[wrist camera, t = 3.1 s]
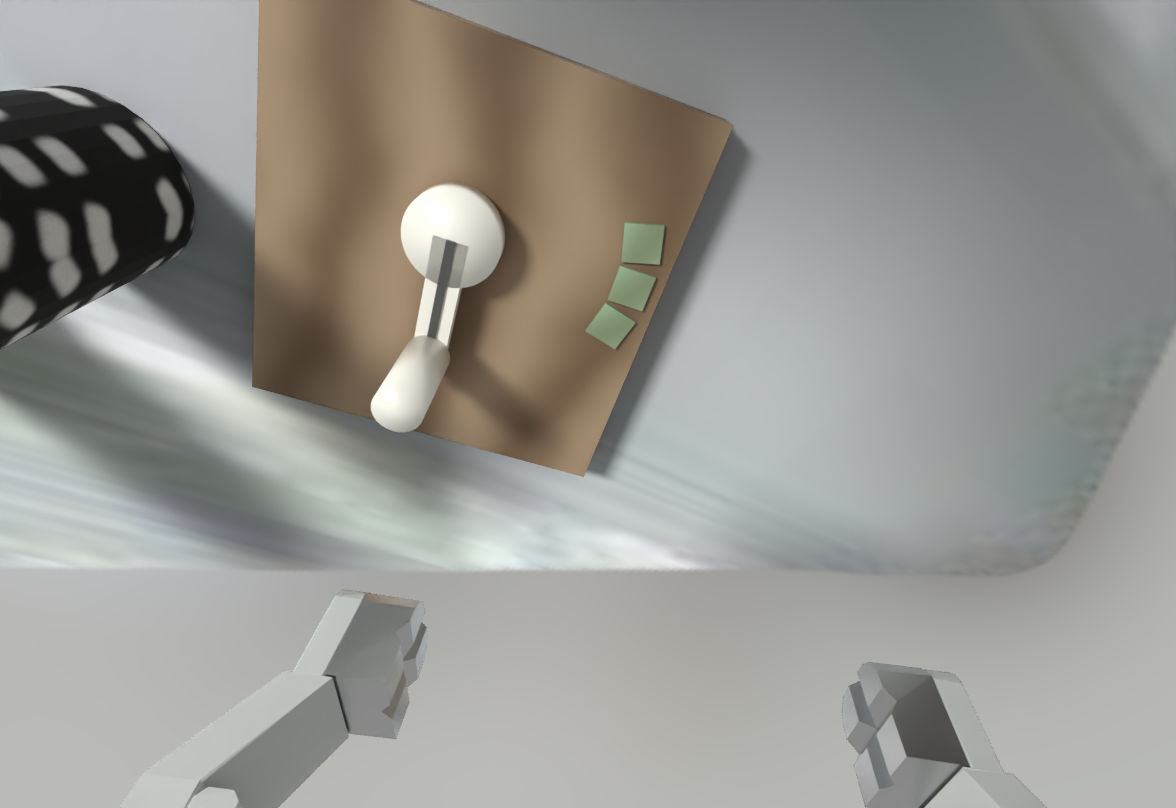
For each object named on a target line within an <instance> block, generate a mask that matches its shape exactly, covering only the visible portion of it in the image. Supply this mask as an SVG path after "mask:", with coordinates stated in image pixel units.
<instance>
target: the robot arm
mask: <svg viewBox="0 0 1176 808" xmlns="http://www.w3.org/2000/svg"><path fill="white" fill-rule="evenodd" d="M424 614H425V608H424V602H423V601H418V600H412V599H404V598H398V597H391V596H385V595H377V594H371V593H367V592H360V591H352V590H344V589H342V590H341V591H340V592H339V593H338V594H337V595H336V596H335V597H334V598H333V600H332V602H331V604H330V606H329V607H328V609H327V611H326V613H325V615H324V616H323V618H322V620H321V622H320V624H319V625H318V627H317V629H316V631H315V633H314V634H313V636H312V638H311V640H310V642H309V643H308V645H307V647H306V649H305V651H304V653H303V654H302V656H301V658H300V660H299V661H298V663H297V665H296V667H295V669H294V670H293V671H288V670H285V671H283V672H282V673H280V674H279V675H278V676H276V677H275V678H273V679H272V680H271V681H269V682H268V683H267V684H265V685H264V686H263V687H261V688H260V689H259V690H257V691H256V692H254V693H253V694H251V695H250V696H249V697H247V698H246V699H244V700H243V701H242V702H240V703H239V704H238V705H236V706H235V707H233V708H232V709H231V710H229V711H228V712H227V713H225V714H224V715H222V716H221V717H220V718H218V719H217V720H215V721H214V722H213V723H211V724H210V725H209V726H207V727H206V728H204V729H203V730H202V731H200V732H199V733H197V734H196V735H195V736H193V737H192V738H191V739H189V740H188V741H186V742H185V743H184V744H182V745H181V746H180V747H178V748H177V749H175V750H174V751H173V752H171V753H170V754H169V755H167V756H166V757H164V758H163V759H162V760H160V761H159V762H157V763H156V764H155V765H153V766H152V767H151V768H149V769H148V770H147V771H145V772H144V773H143V774H142V775H141V776H140V778H139V779H138V781H137V782H136V784H135V785H134V787H133V788H132V790H131V791H130V792H129V794H128V795H127V797H126V798H125V800H124V801H123V803H122V804H121V806H120V807H119V808H278V807H279V806H280V805H281V804H282V803H283V802H284V801H285V800H286V799H287V798H288V797H289V796H290V795H291V794H292V793H293V792H294V791H295V790H296V789H297V788H298V787H299V786H300V785H301V784H302V783H303V782H304V781H305V780H306V779H307V778H308V777H309V776H310V775H311V774H312V773H313V772H314V771H315V770H316V769H317V768H318V767H319V766H320V765H321V764H322V763H323V762H324V761H325V760H326V759H327V758H328V757H329V756H330V755H331V754H332V753H333V752H334V751H335V750H336V749H337V748H338V747H339V746H340V745H341V744H342V743H343V742H344V741H345V740H346V739H347V738H348V737H349V735H348V734H356V735H357V734H358V735H365V736H374V737H383V738H391V739H396V738H397V735H398V732H399V729H400V727H401V724H402V721H403V718H404V716H405V713H406V710H407V707H408V704H409V696H408V688H407V687H408V686H409V685H411V684H412V683H413V682H414V681H415V680H417V679H418V677H419V674H420V670H421V668H422V665H423V661H424V657H425V652H426V648H427V627H426V626H425V625H424V624H423V623H422V619H423V617H424ZM858 676H859V679H860V681H859V682H857V683H854V684H852V685H850V686H849V687H848V689H847V691H846V693H845V695H844V696H843V703H842V719H843V727H844V730H845V734H846V738H847V740H848V741H849V742H850V744H851V745H852V746H853V747H854V748H855V750H856V751H857V752H858V753H859V755H858V757H857V760H856V762H855V764H854V768H855V771H856V776H857V779H858V783H859V786H860V790H861V793H862V797H863V801H864V805H865V807H867V808H1047V807H1046V806H1045V805H1044V804H1043V803H1042V802H1041V801H1040V800H1039V799H1038V798H1037V797H1036V796H1035V795H1034V794H1033V793H1032V792H1031V791H1030V790H1029V789H1028V788H1027V787H1026V786H1025V785H1024V784H1023V783H1022V782H1021V781H1020V780H1019V779H1018V778H1017V777H1016V776H1015V775H1014V774H1010V773H1005V772H1004V771H1003V769H1002V767H1001V765H1000V763H999V760H998V758H997V756H996V754H995V752H994V750H993V748H992V746H991V743H990V741H989V739H988V737H987V735H986V733H985V731H984V729H983V727H982V724H981V722H980V720H979V718H978V716H977V714H976V712H975V710H974V707H973V705H972V703H971V701H970V699H969V697H968V695H967V693H966V691H965V688H964V687H963V684H962V682H961V681H960V680H959V678H957V676H956V675H955V674H951V673H947V672H939V671H931V670H923V669H921V668H913V667H905V666H897V665H889V664H880V663H872V662H868V663H865V664H863V665H862V666H861V668H860V669H859V671H858Z"/></svg>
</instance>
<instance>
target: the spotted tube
mask: <svg viewBox="0 0 1176 808" xmlns="http://www.w3.org/2000/svg"><path fill="white" fill-rule="evenodd" d="M193 224H194V203H193V199H192V195H191V191H190V187H189V184H188V182H187V180H186V177H185V175H184V173H183V170H182V168H181V166H180V165H179V163H178V162H177V160H176V158H175V157H174V155H173V153H172V152H171V150H170V149H169V148H168V147H167V145H166V144H165V143H164V142H163V141H162V139H161V138H160V137H159V136H158V134H157V133H156V132H155V131H154V130H152V129H151V128H150V127H149V126H148V125H147V124H146V123H145V122H144V121H143V120H142V119H141V118H140V117H138V116H137V115H135V114H134V113H132V112H131V111H130V110H128V109H127V108H125V107H124V106H123V105H121V104H119V103H117V102H115V101H113V100H111V99H110V98H108V97H106V96H104V95H102V94H99V93H96V92H93V91H90V90H87V89H83V88H78V87H71V86H63V85H62V86H51V87H41V88H31V89H21V90H11V91H1V92H0V350H1V349H3V348H5V347H6V346H8V345H10V344H12V343H14V342H16V341H18V340H20V339H22V338H24V337H25V336H27V335H29V334H31V333H33V332H35V331H37V330H39V329H41V328H43V327H44V326H46V325H48V324H50V323H52V322H54V321H56V320H58V319H60V318H62V317H63V316H65V315H67V314H69V313H71V312H73V311H75V310H77V309H79V308H81V307H82V306H84V305H86V304H88V303H90V302H92V301H94V300H96V299H98V298H100V297H101V296H103V295H105V294H107V293H109V292H111V291H113V290H115V289H117V288H119V287H120V286H122V285H124V284H126V283H128V282H130V281H132V280H134V279H136V278H138V277H139V276H141V275H143V274H145V273H147V272H149V271H151V270H153V269H155V268H157V267H158V266H160V265H162V264H164V263H166V262H168V261H169V260H171V259H173V258H174V257H176V256H177V255H178V254H179V253H180V252H181V251H182V250H183V249H184V247H185V246H186V245H187V243H188V240H189V238H190V236H191V234H192V229H193Z"/></svg>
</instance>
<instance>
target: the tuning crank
mask: <svg viewBox="0 0 1176 808" xmlns="http://www.w3.org/2000/svg"><path fill="white" fill-rule="evenodd" d="M401 240H402V245H403V248H404V251H405V253H406V255H407V257H408V259H409V261H410V262H411V264H412V265H413V266H414V268H415V269H416V270H417V271H418V272H419V273H420V274H422V275H423V276H424V277H425V281H424V287H423V292H422V298H421V303H420V308H419V314H418V319H417V324H416V330H415V335H414V338H412V339H411V340H410V341H409V342H408V344H407V345H406V347H405V348H404V350H403V351H402V353H401V355H400V356H399V358H398V359H397V361H396V362H395V364H394V366H393V367H392V369H391V370H390V372H389V374H388V375H387V377H386V378H385V380H384V381H383V383H382V385H381V386H380V388H379V389H378V391H377V392H376V394H375V396H374V397H373V399H372V401H371V412H372V414H373V416H374V418H375V419H376V421H377V422H378V423H379V424H380V425H382V426H383V427H385V428H386V429H389V430H391V431H395V432H409V431H412V430H414V429H416V428H417V427H418V426H420V424H421V423H422V421H423V418H424V416H425V414H426V412H427V410H428V408H429V406H430V403H431V401H432V399H433V397H434V395H435V393H436V391H437V389H438V386H439V384H440V382H441V380H442V378H443V376H444V374H445V372H446V369H447V367H448V365H449V362H450V353H449V351H448V348H449V343H450V339H451V335H452V330H453V326H454V321H455V317H456V312H457V308H458V303H459V299H460V295H461V290H462V288H466V287H470V286H474V285H476V284H478V283H480V282H482V281H483V280H485V279H486V278H487V277H488V276H489V275H490V274H491V273H492V272H493V270H494V269H495V267H496V265H497V263H498V261H499V259H500V257H501V255H502V252H503V249H504V245H505V229H504V224H503V221H502V218H501V216H500V214H499V212H498V210H497V208H496V207H495V205H494V204H493V203H492V202H491V200H490V199H489V198H487V197H486V196H485V195H484V194H483V193H481V192H480V191H478V190H477V189H475V188H473V187H471V186H468V185H465V184H461V183H455V182H446V183H440V184H437V185H434V186H432V187H430V188H428V189H426V190H425V191H424V192H423V193H421V194H420V195H419V196H418V197H417V198H416V199H415V200H414V201H412V203H411V204H410V205H409V206H408V208H407V210H406V211H405V213H404V216H403V219H402V223H401Z"/></svg>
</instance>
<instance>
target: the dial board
mask: <svg viewBox="0 0 1176 808" xmlns="http://www.w3.org/2000/svg"><path fill="white" fill-rule="evenodd" d="M732 128H733V125H732V124H731V123H729V122H728V121H726V120H725V119H723V118H720V117H717V116H715V115H712V114H710V113H707V112H704V111H702V110H699V109H697V108H694V107H691V106H689V105H686V104H684V103H681V102H678V101H676V100H673V99H671V98H668V97H665V96H663V95H660V94H658V93H655V92H652V91H650V90H647V89H645V88H642V87H640V86H637V85H634V84H632V83H629V82H627V81H624V80H621V79H619V78H616V77H614V76H611V75H608V74H606V73H603V72H601V71H598V70H595V69H593V68H590V67H588V66H585V65H582V64H580V63H577V62H575V61H572V60H569V59H567V58H564V57H562V56H559V55H556V54H554V53H551V52H549V51H546V50H543V49H541V48H538V47H536V46H533V45H530V44H528V43H525V42H523V41H520V40H518V39H515V38H512V37H510V36H507V35H505V34H502V33H499V32H497V31H494V30H492V29H489V28H486V27H484V26H481V25H479V24H476V23H473V22H471V21H468V20H466V19H463V18H460V17H458V16H455V15H453V14H450V13H447V12H445V11H442V10H440V9H437V8H434V7H432V6H429V5H427V4H424V3H421V2H419V1H416V0H259V39H258V96H257V153H256V210H255V267H254V324H253V381H252V387H256V388H259V389H263V390H267V391H270V392H274V393H278V394H281V395H285V396H289V397H292V398H296V399H300V400H303V401H307V402H311V403H314V404H318V405H322V406H325V407H329V408H333V409H336V410H340V411H344V412H347V413H351V414H355V415H358V416H362V417H366V418H369V419H373V420H376V419H375V418H374V416H373V414H372V412H371V401H372V399H373V397H374V396H375V394H376V392H377V391H378V389H379V388H380V386H381V385H382V383H383V381H384V380H385V378H386V377H387V375H388V374H389V372H390V370H391V369H392V367H393V366H394V364H395V362H396V361H397V359H398V358H399V356H400V355H401V353H402V351H403V350H404V348H405V347H406V345H407V344H408V342H409V341H410V340H411V339H412V338H414V335H415V330H416V324H417V319H418V314H419V308H420V303H421V298H422V292H423V287H424V281H425V277H424V276H423V275H422V274H420V273H419V272H418V271H417V270H416V269H415V268H414V266H413V265H412V264H411V262H410V261H409V259H408V257H407V255H406V253H405V251H404V248H403V245H402V240H401V223H402V219H403V216H404V213H405V211H406V210H407V208H408V206H409V205H410V204H411V203H412V201H414V200H415V199H416V198H417V197H418V196H419V195H420V194H421V193H423V192H424V191H425V190H426V189H428V188H430V187H432V186H434V185H437V184H440V183H446V182H455V183H461V184H465V185H468V186H471V187H473V188H475V189H477V190H478V191H480V192H481V193H483V194H484V195H485V196H486V197H487V198H489V199H490V200H491V202H492V203H493V204H494V205H495V207H496V208H497V210H498V212H499V214H500V216H501V218H502V221H503V224H504V229H505V245H504V249H503V252H502V255H501V257H500V259H499V261H498V263H497V265H496V267H495V269H494V270H493V272H492V273H491V274H490V275H489V276H488V277H487V278H486V279H485V280H483V281H482V282H480V283H478V284H476V285H474V286H470V287H466V288H462V290H461V295H460V299H459V303H458V308H457V312H456V317H455V321H454V326H453V330H452V335H451V339H450V343H449V348H448V351H449V353H450V362H449V365H448V367H447V369H446V372H445V374H444V376H443V378H442V380H441V382H440V384H439V386H438V389H437V391H436V393H435V395H434V397H433V399H432V401H431V403H430V406H429V408H428V410H427V412H426V414H425V416H424V418H423V421H422V423H421V424H420V426H418V427H417V428H416V429H414V431H417V432H421V433H425V434H428V435H432V436H436V437H439V438H443V439H447V440H450V441H454V442H458V443H461V444H465V445H469V446H472V447H476V448H480V449H483V450H487V451H491V452H494V453H498V454H502V455H505V456H509V457H513V458H516V459H520V460H524V461H527V462H531V463H535V464H538V465H542V466H546V467H549V468H553V469H557V470H560V471H564V472H568V473H571V474H575V475H579V476H582V477H584V475H585V472H586V470H587V468H588V465H589V463H590V461H591V458H592V456H593V454H594V451H595V449H596V447H597V444H598V442H599V440H600V437H601V435H602V433H603V430H604V428H605V425H606V423H607V421H608V418H609V416H610V414H611V411H612V409H613V407H614V404H615V402H616V400H617V397H618V395H619V393H620V390H621V388H622V386H623V383H624V381H625V379H626V376H627V374H628V372H629V369H630V367H631V365H632V362H633V360H634V358H635V355H636V353H637V351H638V348H639V346H640V344H641V341H642V339H643V336H644V334H645V332H646V329H647V327H648V325H649V322H650V320H651V318H652V315H653V313H654V311H655V308H656V306H657V304H658V301H659V299H660V297H661V294H662V292H663V290H664V287H665V285H666V283H667V280H668V278H669V276H670V273H671V271H672V269H673V266H674V264H675V262H676V259H677V257H678V254H679V252H680V250H681V247H682V245H683V243H684V240H685V238H686V236H687V233H688V231H689V229H690V226H691V224H692V222H693V219H694V217H695V215H696V212H697V210H698V208H699V205H700V203H701V201H702V198H703V196H704V194H705V191H706V189H707V187H708V184H709V182H710V180H711V177H712V175H713V172H714V170H715V168H716V165H717V163H718V161H719V158H720V156H721V154H722V151H723V149H724V147H725V144H726V142H727V140H728V137H729V135H730V133H731V130H732Z"/></svg>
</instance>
